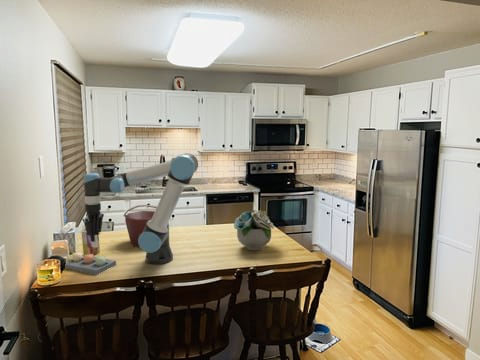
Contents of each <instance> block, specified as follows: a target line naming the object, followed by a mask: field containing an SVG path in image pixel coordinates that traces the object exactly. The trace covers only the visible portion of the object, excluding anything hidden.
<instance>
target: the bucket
mask: <svg viewBox="0 0 480 360" xmlns="http://www.w3.org/2000/svg"><path fill="white" fill-rule="evenodd" d="M157 206H158V205H151V204H138V205H135V206H133V207H131V208H129V209H127V210H126V211H125V212H124V214H123V217H125V218H124V219H125V220H124V222H125V226H126V229H127V233H128V236H129V242H130V245H131V246H133V247H137V248H140V246H139V244H138V239H139V236H140V235H141V234H142V233H143V230H144V228H145V226H146V224H147V222H148V221H149V220H152V217H153V215H154V213H155V210H140V211H133V212H130V211H132V210H134V209H137V208H141V207H142V208H143V207H148V208H154V209H156V208H157ZM128 212H129V213H128Z"/></svg>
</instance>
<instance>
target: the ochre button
mask: <svg viewBox="0 0 480 360" xmlns="http://www.w3.org/2000/svg"><path fill="white" fill-rule="evenodd" d="M71 255H72V259H73V262H76V263H78V262H80V261H83V256H82V255H83V251H76V252H73V253H72V254H71Z"/></svg>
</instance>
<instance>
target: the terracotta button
mask: <svg viewBox="0 0 480 360" xmlns="http://www.w3.org/2000/svg"><path fill="white" fill-rule="evenodd" d="M94 257H95V255H93V254H87V255H84V264H87V265H90V264H92V263H94Z"/></svg>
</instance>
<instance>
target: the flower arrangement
mask: <svg viewBox="0 0 480 360" xmlns="http://www.w3.org/2000/svg"><path fill="white" fill-rule="evenodd" d="M267 215H268V213H267V211H265V210H264V211H263V210H259V209H257V210H255V209H254V210H248V211H243V212H241V214H240V215H239V216H238V217H237V218H235V220H234V224H233V228H234V229H235V230H236V234H237V236H236V238H237V240H238V242H239V243H241V244H242V246H244V247H246V249H247V250H249V251H253V252H254V251H260V250H261V249H262V247H265V246H266V245H267V244H268V243H270V241H271V239H272V229H273V230H274V229H275V225H274V223H273V222H271V220H270V216H269V215H268V216H267Z"/></svg>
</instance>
